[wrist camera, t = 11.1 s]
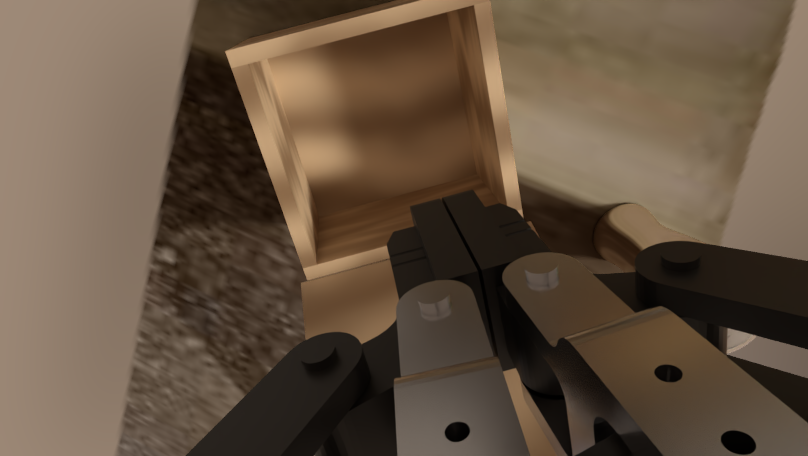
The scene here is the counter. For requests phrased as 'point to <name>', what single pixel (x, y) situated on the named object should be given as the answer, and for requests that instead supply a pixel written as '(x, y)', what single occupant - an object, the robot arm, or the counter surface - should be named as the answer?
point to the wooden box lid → (388, 325)
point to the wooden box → (377, 122)
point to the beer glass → (642, 246)
